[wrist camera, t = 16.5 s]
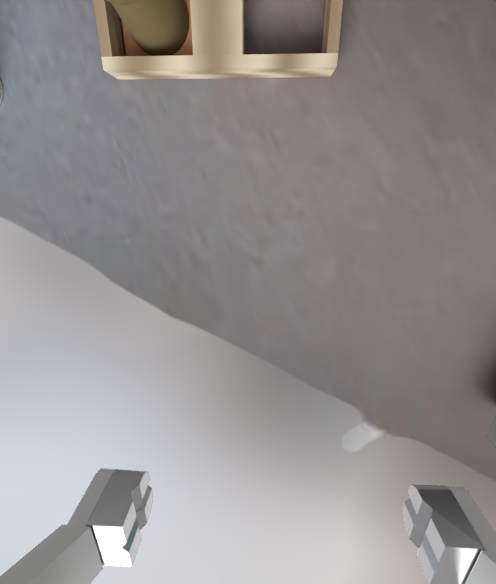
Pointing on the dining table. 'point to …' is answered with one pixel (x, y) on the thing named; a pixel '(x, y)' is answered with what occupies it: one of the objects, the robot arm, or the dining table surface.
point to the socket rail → (212, 47)
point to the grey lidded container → (492, 432)
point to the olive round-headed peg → (155, 24)
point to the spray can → (1, 92)
